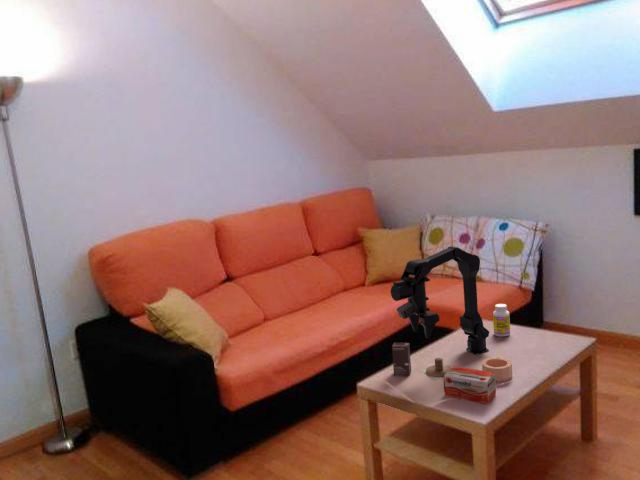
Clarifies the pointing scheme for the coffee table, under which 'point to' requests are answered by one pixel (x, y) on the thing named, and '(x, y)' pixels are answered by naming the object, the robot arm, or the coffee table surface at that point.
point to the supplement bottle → (501, 320)
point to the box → (401, 359)
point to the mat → (431, 376)
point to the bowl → (498, 368)
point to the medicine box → (470, 384)
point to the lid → (438, 369)
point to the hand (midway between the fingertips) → (421, 334)
